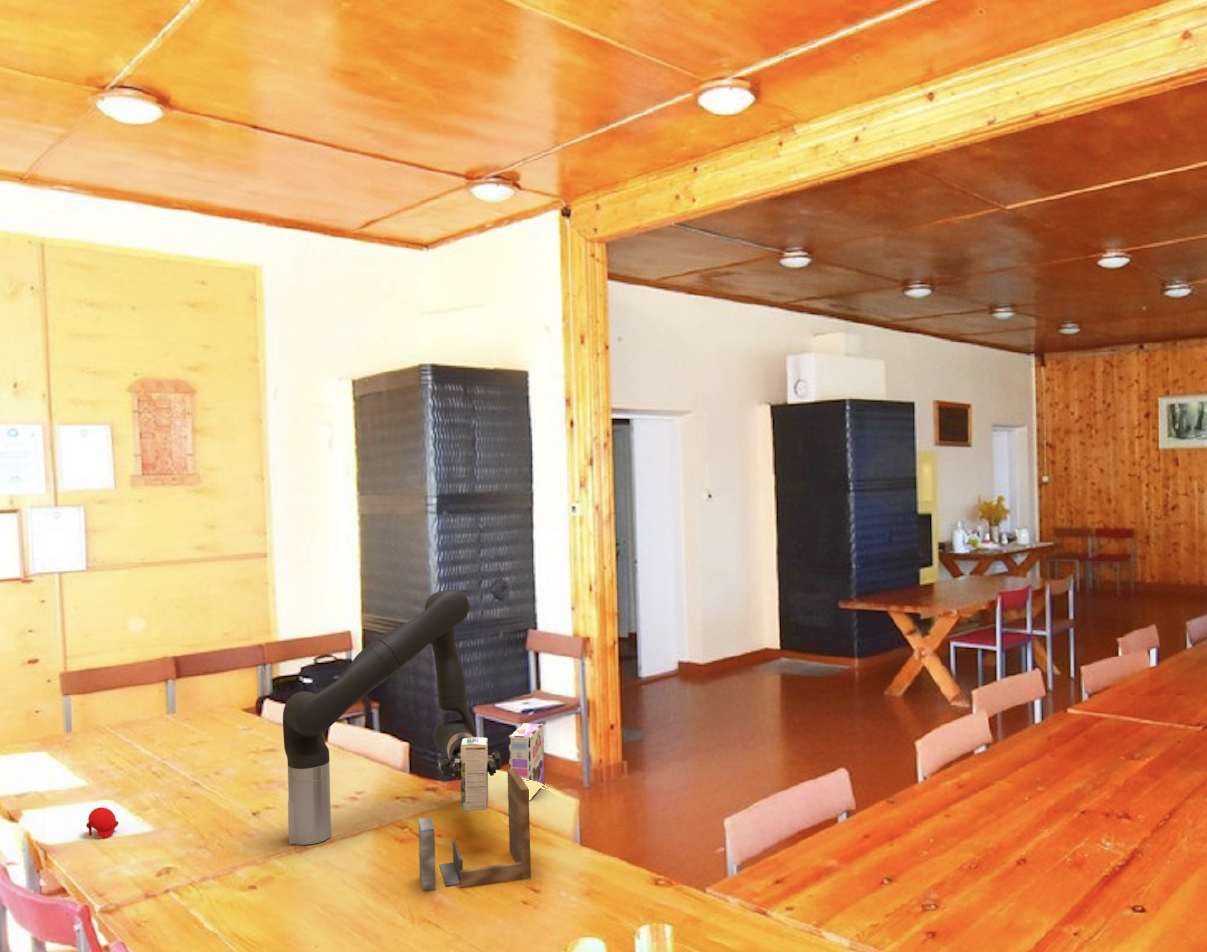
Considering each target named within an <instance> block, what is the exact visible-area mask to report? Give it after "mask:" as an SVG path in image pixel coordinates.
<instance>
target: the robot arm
mask: <svg viewBox="0 0 1207 952" xmlns="http://www.w3.org/2000/svg"><path fill="white" fill-rule="evenodd" d="M469 611H470V602H469V598H468V597H467V595H465V594H464V593H463V592H462V591H459V590H456V589H455V590H454V589H446V590H441V591H437V592H434V593H432V594H430V596H428V598H427V599H426V601H425V604H424V610H423V611H422V612H421V613H420V614H419V615H417V616H415V617H414V618H413V619H411V620H409V621H407V622H406V623H405V622H404V623H403V624H401V625H399V626H397V627H395V628H393V629H391V630H389V631H387V632H385V633H384V634H382V635H381V636H379V637H378V638H376V639H374V640H373V641H372V642H371V643H369V644H368V645H367V646H365V648H363V649H362V650H360V651H359V652H358V653H357V655H356V656H355V657H354V658H353V659H352V661H351V662H350V664H349V666H347V669H346V670H345V671H344V672H343V674H342V675H341V676H340V677H339V678H337V679H336V680H335V681H334V682H333V683H331V684H329V685H328V686H327V687H325V688H324V689H322V690H321V691H318V692H317V693H314V692H311V691H303V690H302V691H299V692H296V693H294V694H293V695H291V696H290V697H289V698H288V700H287V701H286V703H285V705H284V707H283V710H282V733H283V747H284V752H285V755H286V758H287V783H288V784H287V786H288V787H287V790H288V791H287V792H288V798H287V799H288V800H287V801H288V802H287V817H288V820H287V821H288V822H287V823H288V824H287V825H288V845H297V846H298V845H301V846H304V845H305V846H306V845H307V846H308V845H313V844H317V843H318V844H319V843H322V842H325V841H327V840H328V839H330V838H331V836H332V819H331V818H332V812H331V811H332V808H331V775H330V774H331V773H330V772H331V771H330V769H331V768H330V749H329V747H328V745H327V744H326V740H325V738H324V732H326V731H327V730H328V729H329V728H331V727H332V726H333V725H334V724H335V723H336V722H337V721H338V720H339V719H340V718H341V717H342V716H343V715H344V714H346V712H347V711H349V709H351V707H353V706H354V705H355V704H356V703H357V702H359V701H360V700H361V699H363V698H364V697H365V696H366V695H368V694H369V693H371V692H372V691H373V690H374V689H375V688H377V687H378V686H380V685H381V684H382V683H384V682H385V681H386V680H388V679H389V678H390V677H391V676H393V675H394V674H395V673H396V672H398V671H399V670H401V668H403V667H404V666H405V665H407V663H408V662H410V661H411V660H412V659H414V657H416V656H417V655H418V654H419V653H420V652H422V651H423V650H424V649H425V648H426V647H427V646H428V645H429V644H431V646H432V651H433V657H434V664H435V673H436V686H437V697H438V698H437V702H438V707H439V709H440V710H441V711H443V712H453V713H457V714H458V716H459V717H460V718H458V719H453V720H445V721H441V722H438V724H436V725H435V727H434V728H433V734H432V735H433V736H432V738H433V743H434V745H435V746H436V748H437V749H438V750H439V751H440V752H442V753H444V754H446V755H447V758H445V757H443V756H440V757H438V769H439V772H441V774H442V776H449V775H450V774H451V775H452V777H454V778H456V779H457V780H461V744H462V740H463V739H464V738H472V737H477V729H476V726H475V723H474V721H473V718H472V716H471V713H470V709H469V706H468V701H467V691H466V690H467V688H466V677H465V673H464V668H463V665H462V662H461V659H460V656H459V654H458V650H457V646H456V641H455V627H457V626H459V625H460V624H461V623H462V622H463V621H465V619H466V618H467V616H468V615H469ZM501 763H502V758H501V755H500V752H499V751H493V753H491V755H490V754H488V775H489V776H490V777H492V776H495V774H497V771H499V770H501V769H502V766H501Z"/></svg>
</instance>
